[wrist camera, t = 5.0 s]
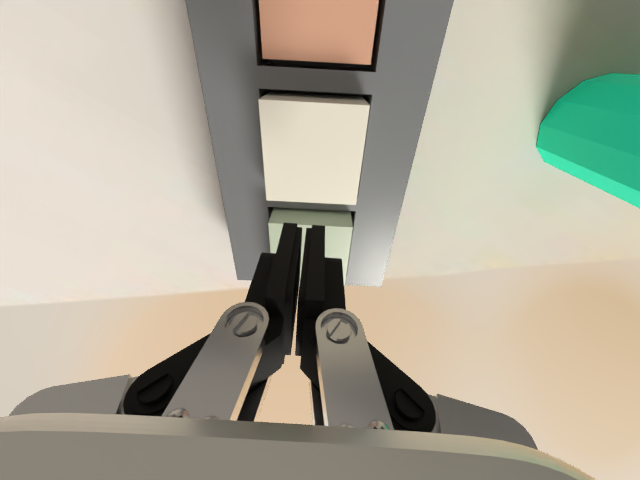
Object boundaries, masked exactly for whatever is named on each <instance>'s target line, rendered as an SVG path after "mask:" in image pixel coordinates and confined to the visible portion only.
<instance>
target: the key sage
mask: <svg viewBox="0 0 640 480" xmlns="http://www.w3.org/2000/svg"><path fill="white" fill-rule="evenodd" d="M284 222H285V223H297V227H302V245H301V264H300V278H301V270H302V261H303V253H304V244H305V236H306V228H312V225H322V226H325V257H328V258H340V259H342V267H343V280H344V287H345V280H346V273H347V266H348V259H349V252H350V244H351V237H352V230H353V225H352V218H351V211H341V210H321V209H302V208H282V207H274V208H273V211H272V214H271V217H270V219H269V222H268V227H269V239H270V252H271V253H276V251H277V247H278V243H279V239H280V235H281V231H282V228H283V224H284ZM299 285H300V281H299Z"/></svg>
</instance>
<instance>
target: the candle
mask: <svg viewBox="0 0 640 480" xmlns="http://www.w3.org/2000/svg"><path fill="white" fill-rule="evenodd" d="M536 147H537V149H538V151H539V153H540V155H541V157H542V159H543V160H544V162H546V163H548V164H550V165H552V166H554V167H556V168H558V169H560V170H562V171H564V172H566V173H568V174H570V175H573V176H575V177H577V178H579V179H581V180H583V181H585V182H587V183H589V184H591V185H593V186H595V187H597V188H599V189H601V190H603V191H605V192H607V193H609V194H611V195H613V196H616V197H618V198H620V199H622V200H624V201H626V202H628V203H630V204H632V205H634V206H636V207H638V208H640V75H637V74H620V73H610V74H606V75H603V76H599V77H595V78H592V79H588V80H584V81H583V82H581V83H580V84H579V85H577V86H576V87H575V88H573V89H572V90H570V91H569V92H568V93H566V94H565V95H564V96H562V97H561V98H560V99H558V100H557V101H556V103H555V104H554V106H553V107H552V109H551V110H550V111H549V113H548V114H547V116H546V117H545V119H544V120H543V121H542V123H541V124H540V129H539V134H538V139H537V145H536Z"/></svg>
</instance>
